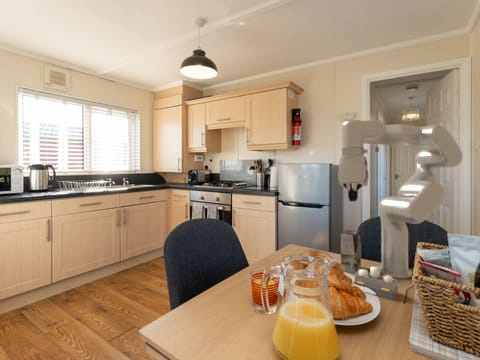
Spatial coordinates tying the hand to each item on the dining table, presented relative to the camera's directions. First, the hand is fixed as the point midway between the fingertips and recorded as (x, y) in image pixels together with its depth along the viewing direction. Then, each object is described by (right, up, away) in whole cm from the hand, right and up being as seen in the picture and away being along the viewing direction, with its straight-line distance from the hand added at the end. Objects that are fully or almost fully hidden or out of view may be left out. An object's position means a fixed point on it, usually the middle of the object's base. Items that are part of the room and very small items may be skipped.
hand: (353, 200), depth 99 cm
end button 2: (+2, -29, -5) cm, 29 cm away
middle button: (+4, -27, -8) cm, 28 cm away
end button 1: (+7, -29, -11) cm, 31 cm away
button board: (+4, -31, -8) cm, 33 cm away
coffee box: (+5, -31, +13) cm, 34 cm away
